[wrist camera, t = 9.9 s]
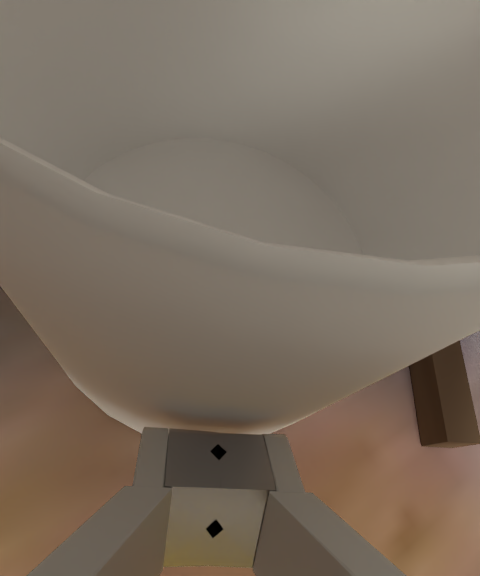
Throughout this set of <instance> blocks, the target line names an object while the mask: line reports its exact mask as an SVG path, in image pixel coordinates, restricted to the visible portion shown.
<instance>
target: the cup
mask: <svg viewBox="0 0 480 576" xmlns="http://www.w3.org/2000/svg"><path fill="white" fill-rule="evenodd" d="M0 286H1V288H2V289H3V290H4V292H5V293H6V294H7V296H8V297H9V298H10V300H11V301H12V302H13V304H14V305H15V306H16V308H17V309H18V310H19V312H20V313H21V314H22V315H23V317H24V318H25V319H26V321H27V322H28V323H29V325H30V326H31V327H32V329H33V330H34V331H35V333H36V334H37V335H38V337H39V338H40V339H41V341H42V342H43V343H44V345H45V346H46V347H47V349H48V350H49V351H50V353H51V354H52V355H53V357H54V358H55V359H56V361H57V362H58V363H59V365H60V366H61V367H62V369H63V370H64V371H65V373H66V374H67V375H68V377H69V378H70V379H71V381H72V382H73V383H74V385H75V386H76V387H77V388H78V389H79V390H80V391H82V392H83V393H84V394H85V395H86V396H87V397H88V398H89V399H90V400H92V401H93V402H94V403H95V404H96V405H97V406H98V407H99V408H100V409H102V410H103V411H104V412H105V413H106V414H107V415H109V416H110V417H112V418H114V419H116V420H118V421H119V422H121V423H123V424H125V425H127V426H129V427H130V428H132V429H134V430H136V431H138V432H140V433H141V434H142V431H143V429H144V427H157V428H168V430H169V428H173V429H186V430H198V431H211V432H220V433H240V434H259V435H261V434H270V433H272V432H275V431H277V430H279V429H282V428H284V427H287V426H289V425H291V424H294V423H296V422H298V421H300V420H302V419H304V418H306V417H308V416H310V415H312V414H314V413H316V412H318V411H320V410H322V409H324V408H326V407H328V406H330V405H331V404H333V403H335V402H337V401H339V400H341V399H343V398H345V397H347V396H349V395H351V394H353V393H355V392H357V391H359V390H361V389H363V388H365V387H367V386H369V385H371V384H373V383H375V382H377V381H379V380H381V379H383V378H385V377H387V376H389V375H391V374H393V373H395V372H397V371H399V370H401V369H403V368H405V367H407V366H409V365H411V364H413V363H415V362H417V361H419V360H421V359H423V358H425V357H427V356H429V355H431V354H433V353H435V352H437V351H439V350H441V349H443V348H445V347H447V346H449V345H451V344H453V343H455V342H457V341H459V340H461V339H463V338H465V337H467V336H469V335H471V334H473V333H475V332H477V331H479V330H480V0H0ZM168 434H169V432H168Z"/></svg>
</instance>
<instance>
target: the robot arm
mask: <svg viewBox="0 0 480 576" xmlns="http://www.w3.org/2000/svg"><path fill="white" fill-rule="evenodd" d="M168 432H169V434H168ZM208 565H209V566H220V567H245V568H253V572H254V573H255V575H256V576H406V575H405V574H404V573H403V572H401V571H400V570H399V569H398V568H397V567H396V566H395V565H394V564H392V563H391V562H390V561H389V560H388V559H387V558H386V557H384V556H383V555H382V554H381V553H380V552H379V551H378V550H377V549H375V548H374V547H373V546H372V545H371V544H370V543H369V542H367V541H366V540H365V539H364V538H363V537H362V536H361V535H359V534H358V533H357V532H356V531H355V530H354V529H353V528H352V527H350V526H349V525H348V524H347V523H346V522H345V521H344V520H342V519H341V518H340V517H339V516H338V515H337V514H336V513H335V512H333V511H332V510H331V509H330V508H329V507H328V506H327V505H325V504H324V503H323V502H322V501H321V500H320V499H319V498H318V497H316V496H315V495H314V494H313V493H305V490H304V487H303V484H302V481H301V478H300V475H299V472H298V469H297V466H296V463H295V460H294V457H293V453H292V450H291V447H290V444H289V441H288V438H287V437H286V436H285V435H284V434H261V435H259V434H240V433H220V432H211V431H198V430H186V429H173V428H169V430H168V428H157V427H144V429H143V431H142V436H141V441H140V447H139V452H138V458H137V464H136V469H135V475H134V480H133V486H124V487H123V488H122V489H121V490H120V491H119V492H118V493H116V494H115V495H114V496H113V497H112V498H111V499H110V500H109V501H108V502H107V503H106V504H104V505H103V506H102V507H101V508H100V509H99V510H98V511H97V512H96V513H95V514H94V515H92V516H91V517H90V518H89V519H88V520H87V521H86V522H85V523H84V524H83V525H82V526H80V527H79V528H78V529H77V530H76V531H75V532H74V533H73V534H72V535H71V536H69V537H68V538H67V539H66V540H65V541H64V542H63V543H62V544H61V545H60V546H59V547H57V548H56V549H55V550H54V551H53V552H52V553H51V554H50V555H49V556H48V557H47V558H45V559H44V560H43V561H42V562H41V563H40V564H39V565H38V566H37V567H36V568H35V569H33V570H32V571H31V572H30V573H29V574H28V575H27V576H159V575H160V573H161V572H162V570H163V567H184V566H208Z"/></svg>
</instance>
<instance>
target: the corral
mask: <svg viewBox="0 0 480 576" xmlns="http://www.w3.org/2000/svg"><path fill="white" fill-rule="evenodd" d="M409 367H410V373H411V380H412V386H413V393H414V400H415V406H416V413H417V419H418V426H419V432H420V439H421V445H422V446H426V447H445V448H455V447H462V446H469V445H475V444H480V435H479V430H478V425H477V420H476V416H475V411H474V406H473V402H472V397H471V392H470V388H469V383H468V378H467V373H466V369H465V364H464V359H463V355H462V350H461V345H460V341H457V342H455V343H453V344H451V345H449V346H447V347H445V348H443V349H441V350H439V351H437V352H435V353H433V354H431V355H429V356H427V357H425V358H423V359H421V360H419V361H417V362H415V363H413V364H411V365H409Z"/></svg>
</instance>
